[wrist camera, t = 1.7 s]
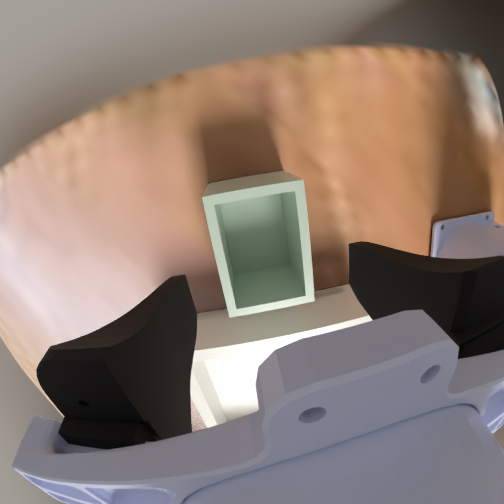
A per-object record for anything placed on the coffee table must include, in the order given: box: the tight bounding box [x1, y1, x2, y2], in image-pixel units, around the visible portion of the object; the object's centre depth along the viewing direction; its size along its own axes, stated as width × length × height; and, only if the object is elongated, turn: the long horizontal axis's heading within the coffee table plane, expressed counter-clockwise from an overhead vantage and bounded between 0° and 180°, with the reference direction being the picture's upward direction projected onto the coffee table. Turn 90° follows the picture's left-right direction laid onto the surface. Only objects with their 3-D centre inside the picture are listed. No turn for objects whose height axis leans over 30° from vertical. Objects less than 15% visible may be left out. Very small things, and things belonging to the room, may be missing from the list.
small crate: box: [202, 170, 315, 318], centre depth 17 cm, size 5×7×5 cm
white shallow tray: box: [190, 284, 372, 428], centre depth 22 cm, size 14×16×4 cm
